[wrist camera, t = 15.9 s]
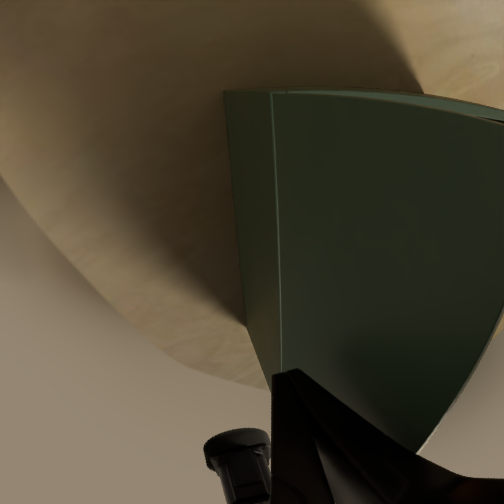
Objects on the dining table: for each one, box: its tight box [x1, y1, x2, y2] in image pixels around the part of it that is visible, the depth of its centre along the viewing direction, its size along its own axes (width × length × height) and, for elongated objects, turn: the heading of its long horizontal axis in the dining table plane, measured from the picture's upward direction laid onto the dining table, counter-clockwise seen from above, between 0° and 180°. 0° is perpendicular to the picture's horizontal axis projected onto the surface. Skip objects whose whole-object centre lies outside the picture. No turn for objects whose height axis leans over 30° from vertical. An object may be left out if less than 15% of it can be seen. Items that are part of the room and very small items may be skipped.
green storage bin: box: [223, 87, 504, 391], centre depth 16 cm, size 15×13×8 cm
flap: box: [272, 93, 504, 455], centre depth 9 cm, size 15×6×1 cm
